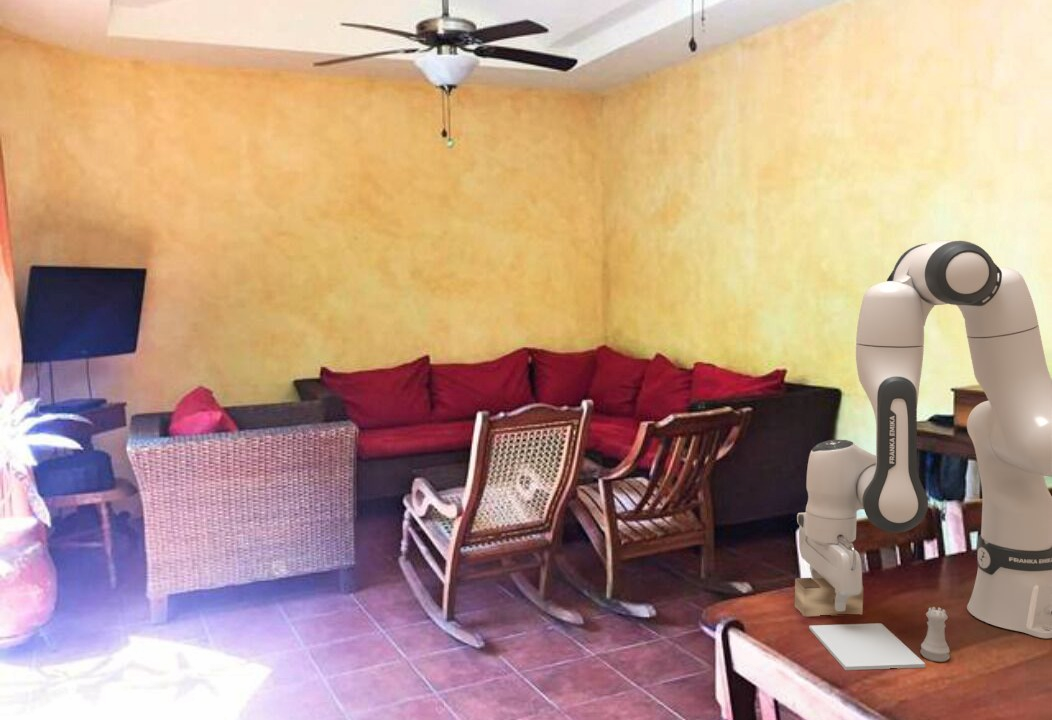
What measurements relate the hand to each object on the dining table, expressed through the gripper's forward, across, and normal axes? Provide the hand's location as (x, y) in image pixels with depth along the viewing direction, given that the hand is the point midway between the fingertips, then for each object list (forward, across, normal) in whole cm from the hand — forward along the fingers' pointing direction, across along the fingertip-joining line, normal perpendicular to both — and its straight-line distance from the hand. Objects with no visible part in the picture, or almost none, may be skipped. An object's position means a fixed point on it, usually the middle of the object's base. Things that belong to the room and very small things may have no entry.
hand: (828, 599), depth 153 cm
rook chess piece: (+2, -19, -10) cm, 22 cm away
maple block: (+2, 0, 0) cm, 2 cm away
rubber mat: (+2, -15, 0) cm, 15 cm away
